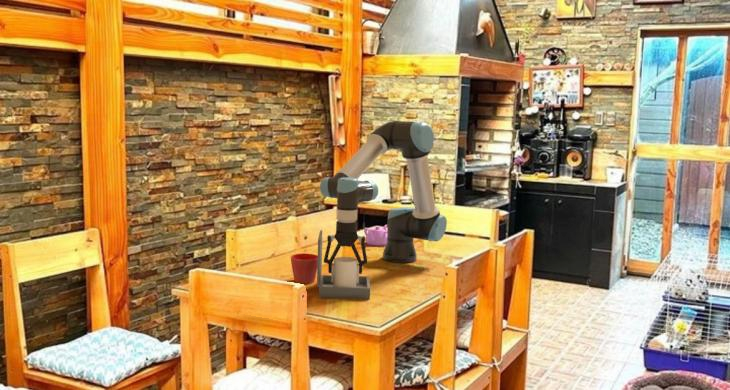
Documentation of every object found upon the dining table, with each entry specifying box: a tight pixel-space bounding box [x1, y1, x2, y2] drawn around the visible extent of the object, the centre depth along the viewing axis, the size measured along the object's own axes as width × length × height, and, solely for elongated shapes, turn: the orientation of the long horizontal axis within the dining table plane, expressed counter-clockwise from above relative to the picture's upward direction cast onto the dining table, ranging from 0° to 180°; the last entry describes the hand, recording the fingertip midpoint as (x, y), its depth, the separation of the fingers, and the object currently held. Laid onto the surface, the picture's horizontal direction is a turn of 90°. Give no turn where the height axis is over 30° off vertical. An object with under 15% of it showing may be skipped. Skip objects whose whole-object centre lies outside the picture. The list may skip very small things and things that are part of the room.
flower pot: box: [290, 252, 318, 284], centre depth 269 cm, size 11×11×10 cm
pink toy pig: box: [363, 224, 388, 247], centre depth 344 cm, size 12×14×9 cm
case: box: [316, 229, 371, 300], centre depth 256 cm, size 19×19×21 cm
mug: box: [333, 256, 358, 287], centre depth 255 cm, size 12×8×10 cm
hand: (344, 282), depth 256 cm, fingers open, 8 cm apart
